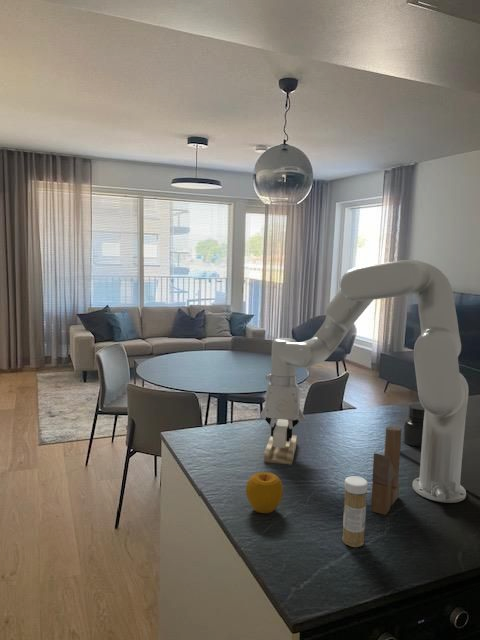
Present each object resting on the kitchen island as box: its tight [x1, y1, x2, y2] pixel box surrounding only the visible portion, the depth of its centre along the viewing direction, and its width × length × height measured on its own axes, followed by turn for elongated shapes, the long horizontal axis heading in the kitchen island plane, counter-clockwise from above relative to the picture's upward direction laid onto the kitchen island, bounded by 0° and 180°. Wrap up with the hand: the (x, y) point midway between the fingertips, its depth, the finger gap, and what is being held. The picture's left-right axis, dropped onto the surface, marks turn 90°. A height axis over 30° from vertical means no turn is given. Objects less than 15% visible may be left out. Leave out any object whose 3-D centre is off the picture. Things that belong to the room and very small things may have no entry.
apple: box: [245, 471, 284, 514], centre depth 111 cm, size 8×8×9 cm
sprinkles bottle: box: [341, 475, 369, 548], centre depth 99 cm, size 5×5×13 cm
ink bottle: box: [402, 403, 425, 448], centre depth 155 cm, size 10×9×12 cm
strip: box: [273, 419, 288, 448], centre depth 145 cm, size 12×4×4 cm, turn 168°
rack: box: [263, 434, 298, 466], centre depth 146 cm, size 16×8×3 cm, turn 168°
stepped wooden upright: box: [370, 425, 402, 516], centre depth 115 cm, size 4×11×18 cm, turn 147°
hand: (281, 438), depth 145 cm, fingers closed on strip, 3 cm apart
